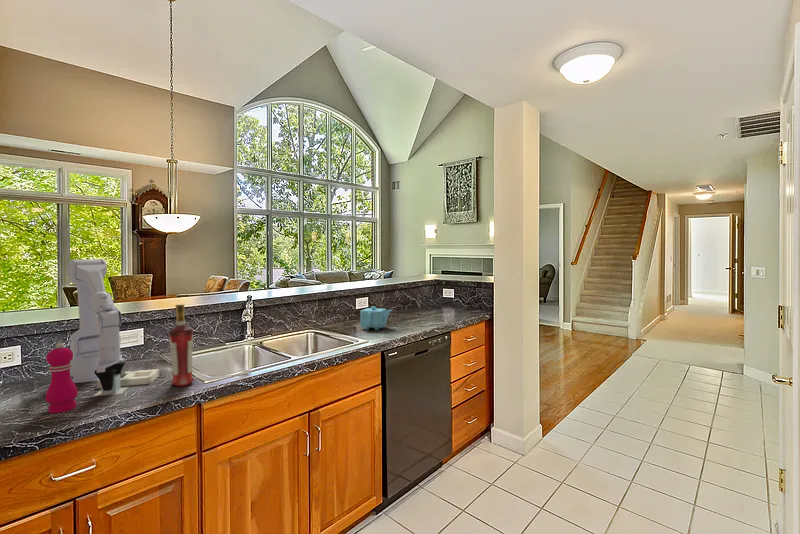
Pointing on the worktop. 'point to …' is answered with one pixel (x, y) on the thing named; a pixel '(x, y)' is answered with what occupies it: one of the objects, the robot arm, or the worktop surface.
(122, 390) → the mat
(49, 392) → the pepper mill
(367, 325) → the teapot
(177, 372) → the liquor
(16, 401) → the worktop surface
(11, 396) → the worktop surface
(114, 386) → the plug
